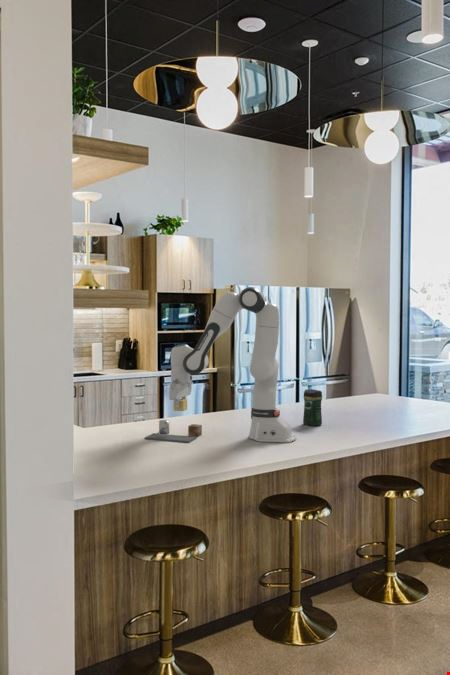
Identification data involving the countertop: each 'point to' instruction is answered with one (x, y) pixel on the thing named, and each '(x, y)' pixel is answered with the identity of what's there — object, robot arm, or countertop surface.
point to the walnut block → (194, 430)
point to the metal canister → (164, 426)
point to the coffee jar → (312, 407)
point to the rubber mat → (171, 438)
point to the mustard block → (181, 405)
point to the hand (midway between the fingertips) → (180, 406)
